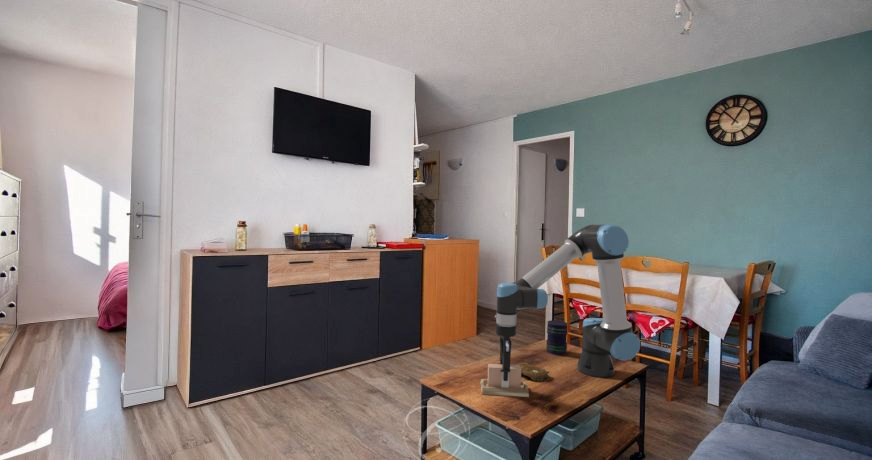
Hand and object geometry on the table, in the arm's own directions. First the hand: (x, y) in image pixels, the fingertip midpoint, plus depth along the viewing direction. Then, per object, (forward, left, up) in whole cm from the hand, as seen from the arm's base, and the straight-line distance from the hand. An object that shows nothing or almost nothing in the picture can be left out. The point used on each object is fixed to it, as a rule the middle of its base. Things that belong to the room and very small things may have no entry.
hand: (504, 385), depth 148 cm
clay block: (0, 0, -1) cm, 1 cm away
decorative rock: (-13, -17, -2) cm, 21 cm away
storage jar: (-32, -50, -2) cm, 59 cm away
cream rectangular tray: (0, 0, -2) cm, 2 cm away
